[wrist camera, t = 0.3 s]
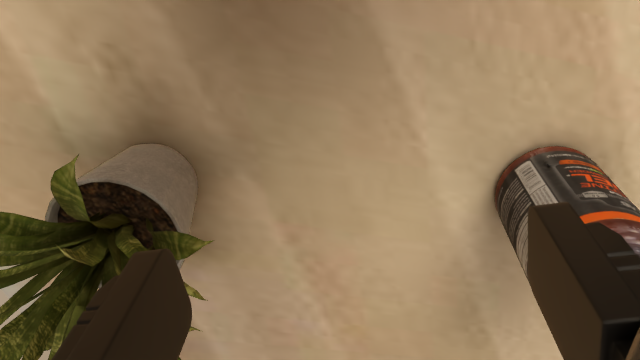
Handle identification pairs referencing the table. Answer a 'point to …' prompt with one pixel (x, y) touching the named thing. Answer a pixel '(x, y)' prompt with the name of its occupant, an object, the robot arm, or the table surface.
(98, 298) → the robot arm
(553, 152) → the supplement bottle
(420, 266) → the table surface
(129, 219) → the house plant
